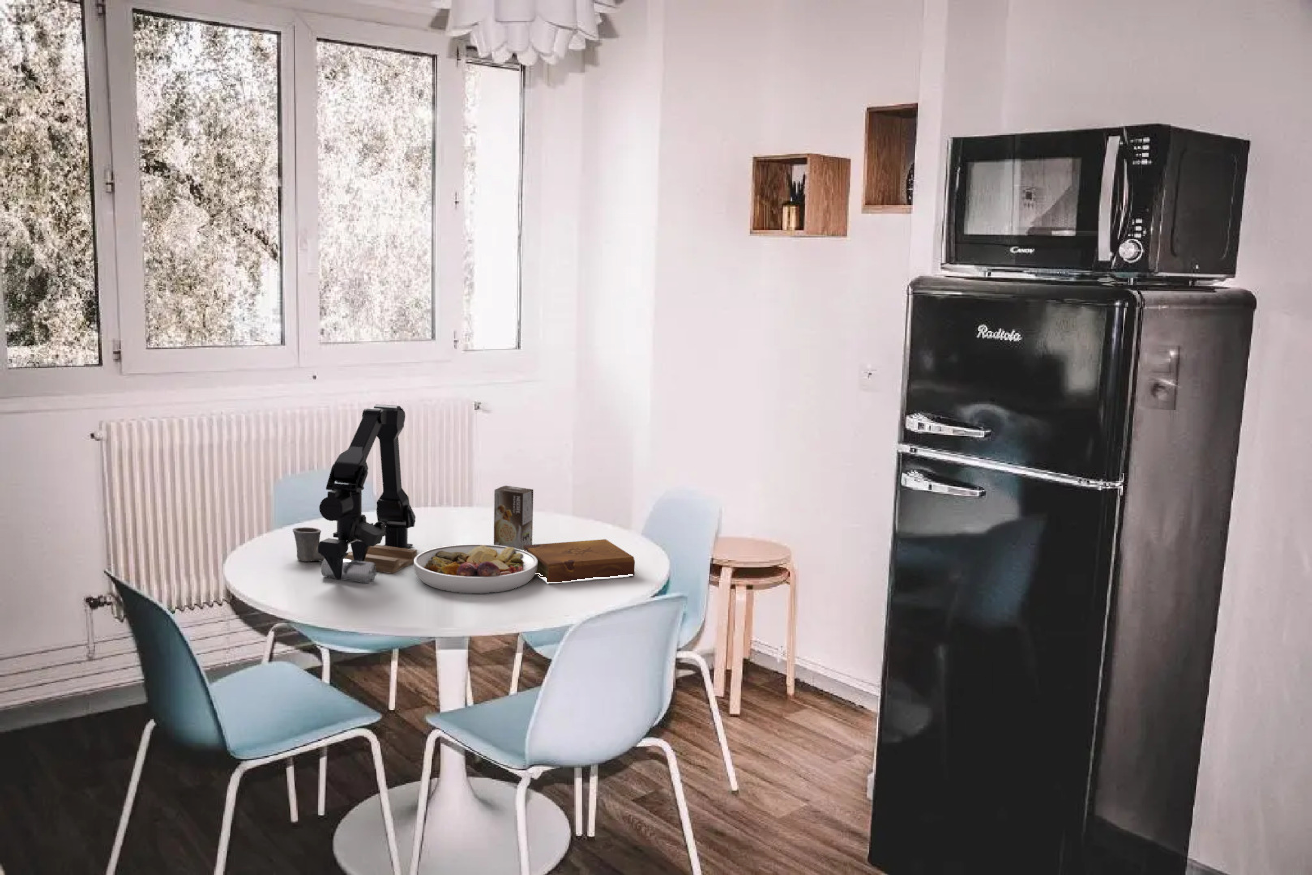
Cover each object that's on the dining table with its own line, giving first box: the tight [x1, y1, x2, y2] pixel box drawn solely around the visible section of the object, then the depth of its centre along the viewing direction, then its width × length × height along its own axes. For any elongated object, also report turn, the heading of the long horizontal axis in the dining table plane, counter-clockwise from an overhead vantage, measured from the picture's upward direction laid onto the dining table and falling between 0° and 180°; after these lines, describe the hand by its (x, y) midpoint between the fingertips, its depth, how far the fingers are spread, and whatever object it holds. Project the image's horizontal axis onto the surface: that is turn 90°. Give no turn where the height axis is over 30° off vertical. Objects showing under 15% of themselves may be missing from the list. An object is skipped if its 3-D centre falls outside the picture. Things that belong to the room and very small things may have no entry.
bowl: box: [413, 543, 538, 594], centre depth 290 cm, size 30×30×8 cm
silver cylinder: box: [320, 559, 377, 584], centre depth 284 cm, size 5×12×5 cm, turn 73°
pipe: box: [292, 526, 325, 563], centre depth 298 cm, size 6×13×8 cm, turn 78°
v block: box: [344, 544, 418, 575], centre depth 299 cm, size 13×14×3 cm
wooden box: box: [523, 538, 636, 582], centre depth 301 cm, size 23×19×6 cm
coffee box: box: [493, 485, 534, 551], centre depth 320 cm, size 9×6×16 cm
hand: (348, 574), depth 285 cm, fingers open, 9 cm apart
